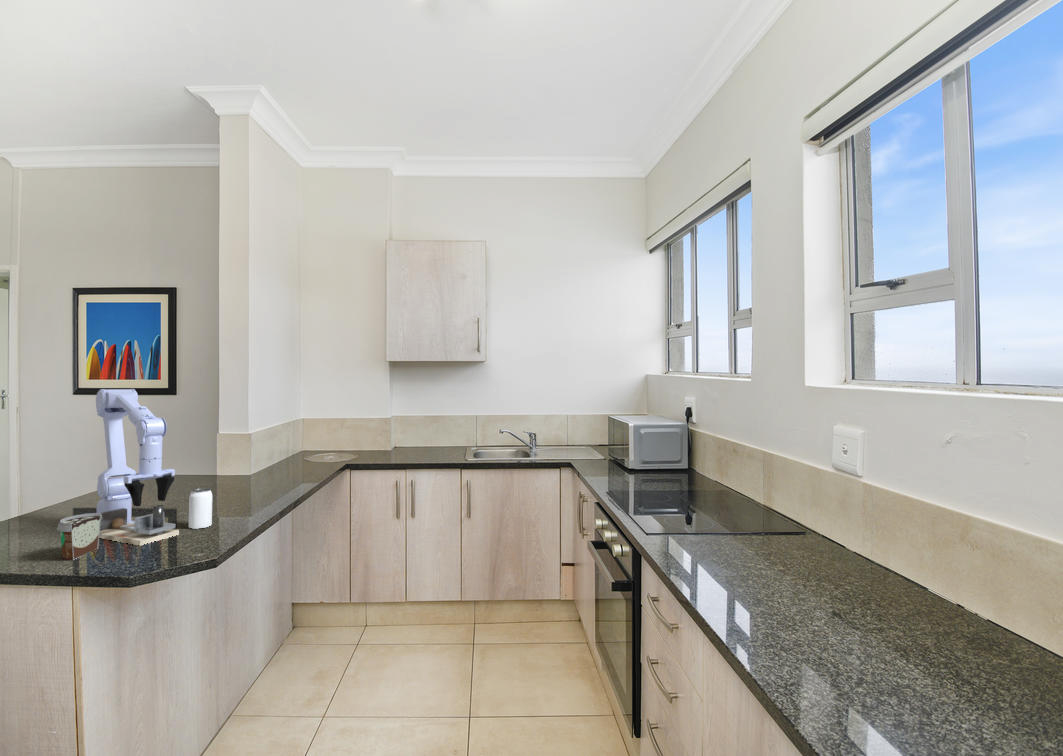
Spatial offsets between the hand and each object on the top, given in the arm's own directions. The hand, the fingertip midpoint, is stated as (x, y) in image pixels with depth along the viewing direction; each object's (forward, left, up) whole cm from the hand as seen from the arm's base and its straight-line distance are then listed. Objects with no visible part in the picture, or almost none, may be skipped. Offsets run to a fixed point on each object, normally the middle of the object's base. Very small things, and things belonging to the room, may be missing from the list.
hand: (149, 503), depth 167 cm
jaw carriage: (+4, -1, -7) cm, 8 cm away
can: (+4, +14, -11) cm, 18 cm away
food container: (-2, -19, -11) cm, 22 cm away
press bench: (-5, -1, -10) cm, 11 cm away
